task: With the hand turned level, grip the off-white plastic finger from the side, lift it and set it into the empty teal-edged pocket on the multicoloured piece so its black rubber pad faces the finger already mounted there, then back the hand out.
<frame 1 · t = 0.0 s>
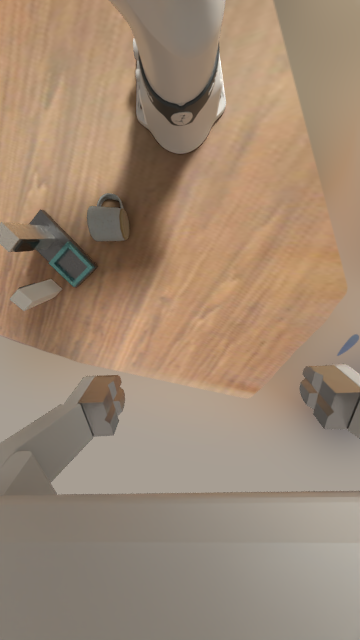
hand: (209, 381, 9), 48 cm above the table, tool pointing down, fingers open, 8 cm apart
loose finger: (53, 288, 57), on the table
multicoloured piece: (62, 251, 52), on the table
ceramic mug: (113, 219, 49), on the table
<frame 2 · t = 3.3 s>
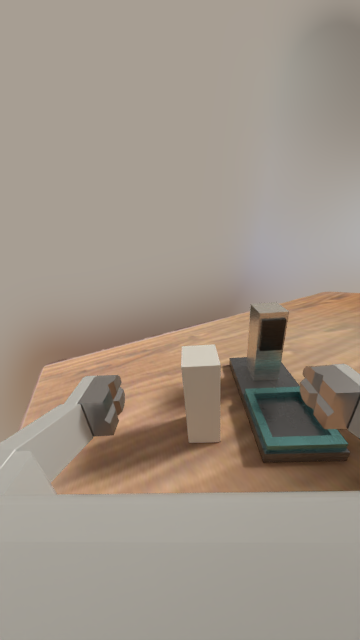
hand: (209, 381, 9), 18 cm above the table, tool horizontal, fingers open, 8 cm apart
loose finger: (203, 428, 26), on the table
multicoloured piece: (271, 398, 29), on the table
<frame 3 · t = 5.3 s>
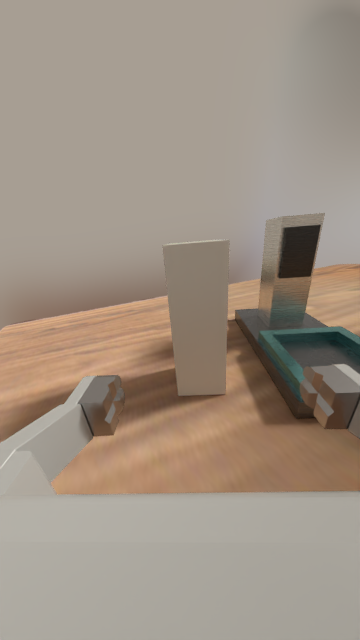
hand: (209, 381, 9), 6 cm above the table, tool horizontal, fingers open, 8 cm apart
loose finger: (200, 379, 18), on the table
multicoloured piece: (294, 347, 21), on the table
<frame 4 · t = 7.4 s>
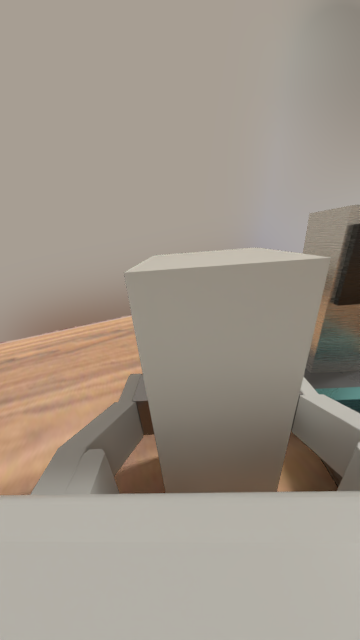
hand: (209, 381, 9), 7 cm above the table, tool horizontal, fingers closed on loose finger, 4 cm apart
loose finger: (213, 487, 10), on the table, touching gripper
multicoloured piece: (355, 410, 14), on the table
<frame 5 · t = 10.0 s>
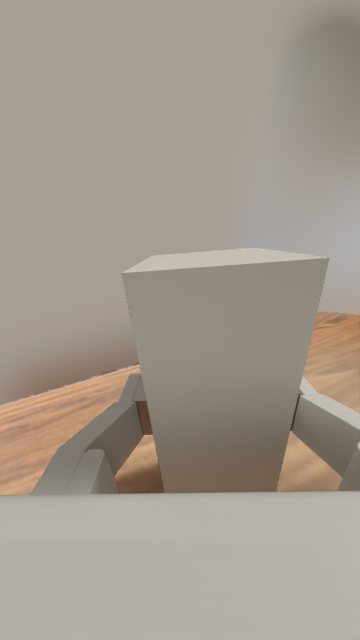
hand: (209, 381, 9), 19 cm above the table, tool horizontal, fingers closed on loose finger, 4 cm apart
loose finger: (212, 487, 10), point 13 cm above the table, touching gripper
when the fingers open (9 cm above the table, at t = 12.6 s): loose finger drops 1 cm, resting on multicoloured piece.
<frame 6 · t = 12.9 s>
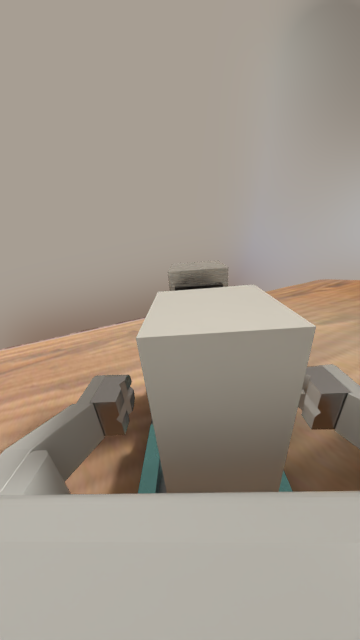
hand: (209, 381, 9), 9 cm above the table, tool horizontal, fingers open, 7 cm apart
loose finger: (215, 502, 11), point 2 cm above the table, touching multicoloured piece
multicoloured piece: (206, 441, 16), on the table
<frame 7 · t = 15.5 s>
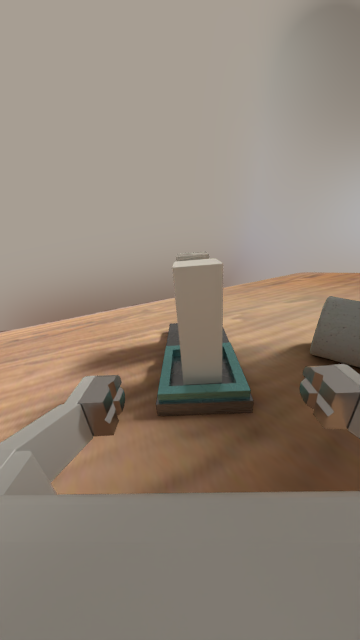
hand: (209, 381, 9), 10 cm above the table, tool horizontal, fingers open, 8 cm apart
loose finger: (201, 371, 22), point 1 cm above the table, touching multicoloured piece
multicoloured piece: (198, 358, 26), on the table
ceramic mug: (347, 356, 25), on the table
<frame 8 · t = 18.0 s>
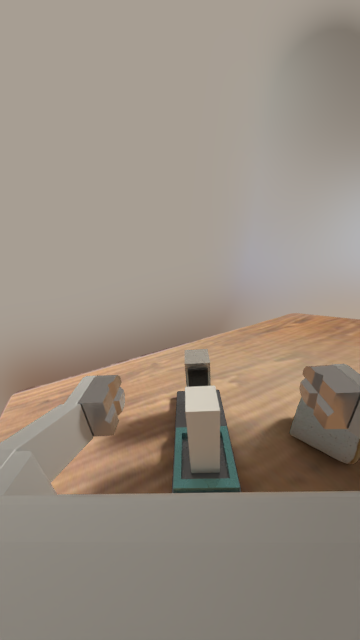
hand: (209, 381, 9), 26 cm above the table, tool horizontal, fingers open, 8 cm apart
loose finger: (204, 457, 28), point 1 cm above the table, touching multicoloured piece
multicoloured piece: (201, 435, 33), on the table
ceramic mug: (318, 434, 32), on the table
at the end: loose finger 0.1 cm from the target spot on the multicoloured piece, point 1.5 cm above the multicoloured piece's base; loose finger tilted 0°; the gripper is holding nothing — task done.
